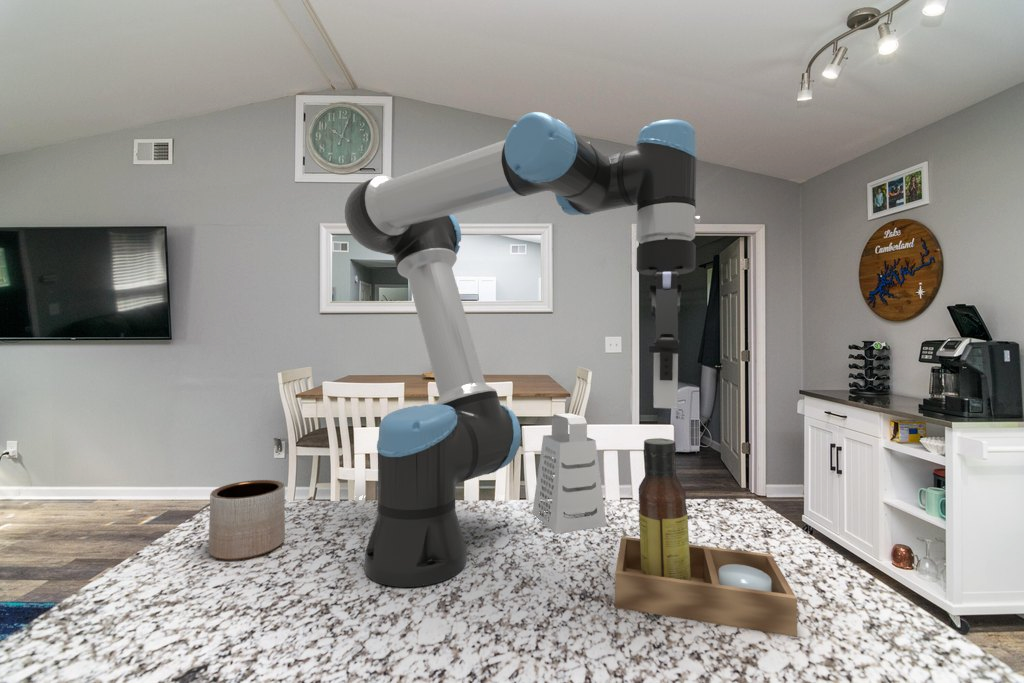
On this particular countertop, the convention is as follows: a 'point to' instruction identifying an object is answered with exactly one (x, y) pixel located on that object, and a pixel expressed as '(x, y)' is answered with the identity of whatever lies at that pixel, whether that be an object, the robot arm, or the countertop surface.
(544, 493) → the grater
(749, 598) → the caddy
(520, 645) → the countertop surface
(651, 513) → the sauce bottle
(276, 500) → the planter
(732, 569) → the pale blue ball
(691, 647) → the countertop surface
